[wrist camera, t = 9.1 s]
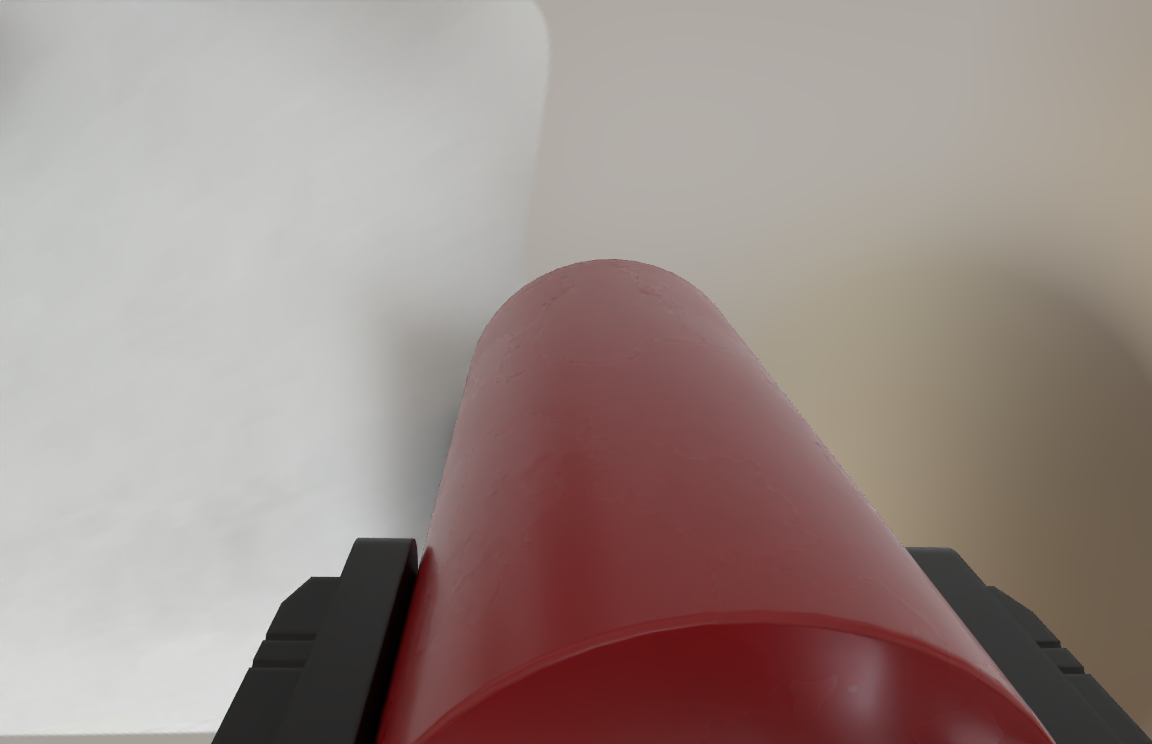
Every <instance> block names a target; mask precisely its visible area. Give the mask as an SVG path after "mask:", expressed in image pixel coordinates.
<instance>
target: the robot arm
mask: <svg viewBox="0 0 1152 744" xmlns="http://www.w3.org/2000/svg"><path fill="white" fill-rule="evenodd" d="M905 549H906V550H907V551H908V552H909V554H910V555H911V556H912V558H913V559H914V560H915V561H916V563H917V564H918V565H919V566H920V568H921V569H922V570H923V572H924V573H925V574H926V575H927V577H928V578H929V579H930V581H931V582H932V583H933V584H934V586H935V587H936V588H937V590H938V591H939V592H940V593H941V595H942V596H943V597H944V598H945V600H946V601H947V602H948V604H949V605H950V606H951V607H952V609H953V610H954V611H955V613H956V614H957V615H958V616H959V618H960V619H961V620H962V622H963V623H964V624H965V625H966V627H967V628H968V629H969V631H970V632H971V633H972V634H973V636H974V637H975V638H976V639H977V641H978V642H979V643H980V645H981V646H982V647H983V648H984V650H985V651H986V652H987V654H988V655H989V656H990V657H991V659H992V660H993V661H994V663H995V664H996V665H997V666H998V668H999V669H1000V670H1001V671H1002V673H1003V674H1004V675H1005V677H1006V678H1007V679H1008V680H1009V682H1010V683H1011V684H1012V686H1013V687H1014V688H1015V689H1016V691H1017V692H1018V693H1019V695H1020V696H1021V697H1022V698H1023V700H1024V701H1025V702H1026V703H1027V705H1028V706H1029V707H1030V709H1031V710H1032V711H1033V712H1034V714H1035V715H1036V716H1037V718H1038V719H1039V720H1040V722H1041V723H1042V724H1043V726H1044V727H1045V728H1046V730H1047V731H1048V732H1049V734H1050V735H1051V736H1052V738H1053V739H1054V740H1055V741H1056V743H1057V744H1152V741H1151V739H1150V738H1149V737H1148V736H1147V735H1146V734H1145V733H1144V732H1143V731H1142V730H1141V729H1140V728H1139V726H1138V725H1137V724H1136V723H1135V722H1134V721H1133V720H1132V719H1131V718H1130V717H1129V716H1128V715H1127V714H1126V712H1125V711H1124V710H1123V709H1122V708H1121V707H1120V706H1119V705H1118V704H1117V703H1116V702H1115V701H1114V699H1113V698H1112V697H1111V696H1110V695H1109V694H1108V693H1107V692H1106V691H1105V690H1104V689H1103V688H1102V687H1101V685H1100V684H1099V683H1098V682H1097V681H1096V680H1095V679H1094V678H1093V677H1092V676H1091V675H1090V674H1085V673H1084V667H1083V666H1082V665H1081V664H1080V663H1079V662H1078V661H1077V659H1076V658H1075V657H1074V656H1073V655H1072V654H1071V653H1070V652H1069V651H1068V650H1067V649H1066V648H1061V645H1060V641H1059V640H1058V639H1057V638H1056V637H1055V636H1054V635H1053V633H1052V632H1051V631H1050V630H1049V629H1048V628H1047V627H1046V626H1045V625H1044V624H1043V623H1042V622H1041V620H1039V618H1038V617H1037V616H1036V615H1035V614H1034V613H1033V612H1032V611H1030V610H1029V609H1027V608H1026V607H1024V606H1023V605H1021V604H1020V603H1018V602H1017V601H1015V600H1014V599H1012V598H1011V597H1009V596H1008V595H1006V594H1005V593H1003V592H1002V591H1000V590H998V589H997V588H996V587H994V586H986V585H985V584H984V583H983V582H982V580H981V579H980V578H979V577H978V576H977V575H976V574H975V573H974V571H973V570H972V569H971V568H970V567H969V566H968V565H967V564H966V562H965V561H964V560H963V559H962V558H961V557H960V555H959V554H958V553H957V552H956V551H954V550H952V549H950V548H936V547H935V548H934V547H905ZM417 573H418V554H417V544H416V540H415V539H408V538H357V539H356V540H355V542H354V544H353V547H352V549H351V552H350V554H349V557H348V559H347V561H346V564H345V566H344V569H343V571H342V574H341V576H340V577H311V578H310V579H309V580H307V581H306V582H305V583H304V584H303V585H302V586H301V587H299V588H298V589H297V590H296V591H295V592H294V593H293V594H291V595H290V596H289V597H288V598H287V599H286V600H284V601H283V602H282V603H281V605H280V607H279V609H278V611H277V613H276V615H275V617H274V619H273V621H272V623H271V625H270V627H269V629H268V631H267V633H266V640H263V641H262V643H261V645H260V647H259V649H258V651H257V653H256V655H255V657H254V659H253V666H252V668H249V669H248V671H247V673H246V675H245V677H244V679H243V681H242V683H241V685H240V687H239V689H238V691H237V693H236V695H235V697H234V699H233V701H232V703H231V705H230V707H229V709H228V711H227V713H226V715H225V717H224V719H223V721H222V723H221V725H220V727H219V729H218V731H217V733H216V735H215V737H214V739H213V741H212V743H211V744H374V742H375V738H376V734H377V730H378V726H379V722H380V718H381V714H382V710H383V707H384V703H385V699H386V695H387V691H388V687H389V683H390V679H391V675H392V671H393V667H394V663H395V659H396V655H397V651H398V648H399V644H400V640H401V636H402V632H403V628H404V624H405V620H406V616H407V612H408V608H409V604H410V600H411V596H412V593H413V589H414V585H415V581H416V577H417Z"/></svg>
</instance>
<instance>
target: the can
mask: <svg viewBox="0 0 1152 744" xmlns="http://www.w3.org/2000/svg"><path fill="white" fill-rule="evenodd" d="M374 744H1057V743H1056V741H1055V740H1054V739H1053V738H1052V736H1051V735H1050V734H1049V732H1048V731H1047V730H1046V728H1045V727H1044V726H1043V724H1042V723H1041V722H1040V720H1039V719H1038V718H1037V716H1036V715H1035V714H1034V712H1033V711H1032V710H1031V709H1030V707H1029V706H1028V705H1027V703H1026V702H1025V701H1024V700H1023V698H1022V697H1021V696H1020V695H1019V693H1018V692H1017V691H1016V689H1015V688H1014V687H1013V686H1012V684H1011V683H1010V682H1009V680H1008V679H1007V678H1006V677H1005V675H1004V674H1003V673H1002V671H1001V670H1000V669H999V668H998V666H997V665H996V664H995V663H994V661H993V660H992V659H991V657H990V656H989V655H988V654H987V652H986V651H985V650H984V648H983V647H982V646H981V645H980V643H979V642H978V641H977V639H976V638H975V637H974V636H973V634H972V633H971V632H970V631H969V629H968V628H967V627H966V625H965V624H964V623H963V622H962V620H961V619H960V618H959V616H958V615H957V614H956V613H955V611H954V610H953V609H952V607H951V606H950V605H949V604H948V602H947V601H946V600H945V598H944V597H943V596H942V595H941V593H940V592H939V591H938V590H937V588H936V587H935V586H934V584H933V583H932V582H931V581H930V579H929V578H928V577H927V575H926V574H925V573H924V572H923V570H922V569H921V568H920V566H919V565H918V564H917V563H916V561H915V560H914V559H913V558H912V556H911V555H910V554H909V552H908V551H907V550H906V549H905V547H904V546H903V545H902V543H901V542H900V541H899V540H898V539H897V537H896V536H895V535H894V533H893V532H892V531H891V529H890V528H889V527H888V526H887V525H886V523H885V522H884V521H883V519H882V518H881V517H880V515H879V514H878V513H877V512H876V510H875V509H874V508H873V506H871V504H870V503H869V501H868V500H867V499H866V497H865V496H864V495H863V494H862V492H861V491H860V490H859V488H858V487H857V486H856V485H855V483H854V482H853V481H852V479H851V478H850V477H849V476H848V475H847V473H846V472H845V470H844V469H843V468H842V467H841V465H840V464H839V463H838V462H837V460H836V459H835V458H834V456H833V455H832V454H831V453H830V451H829V450H828V449H827V447H826V446H825V445H824V444H823V442H822V441H821V440H820V438H819V437H818V436H817V435H816V433H815V432H814V431H813V430H812V428H811V427H810V426H809V424H808V423H807V422H806V421H805V419H804V418H803V417H802V415H801V414H800V413H799V412H798V410H797V409H796V408H795V407H794V405H793V404H792V403H791V401H790V400H789V399H788V398H787V396H786V395H785V394H784V392H783V391H782V390H781V389H780V387H779V386H778V385H777V383H776V382H775V381H774V380H773V378H772V377H771V376H770V374H769V373H768V372H767V371H766V370H765V368H764V367H763V366H762V365H761V363H760V362H759V360H758V359H757V358H756V357H755V355H754V354H753V353H752V351H751V350H750V349H749V348H748V346H747V345H746V344H745V343H744V341H743V340H742V339H741V338H740V336H739V335H738V333H737V332H736V331H735V330H734V328H733V327H732V326H731V325H730V323H729V322H728V321H727V319H726V318H725V317H724V316H723V314H722V313H721V312H720V311H719V309H718V308H717V307H716V305H715V304H714V303H713V302H712V301H711V300H710V299H709V298H708V297H707V296H706V295H705V294H703V293H702V292H701V291H700V290H699V289H697V288H696V287H695V286H693V285H692V284H691V283H689V282H688V281H686V280H684V279H683V278H681V277H679V276H677V275H675V274H673V273H672V272H669V271H666V270H664V269H661V268H659V267H656V266H653V265H649V264H645V263H640V262H636V261H628V260H617V259H608V260H592V261H586V262H580V263H575V264H572V265H569V266H565V267H562V268H558V269H556V270H554V271H552V272H550V273H547V274H545V275H543V276H541V277H539V278H537V279H536V280H534V281H532V282H531V283H529V284H527V285H526V286H524V287H523V288H522V289H520V290H519V291H518V292H517V293H516V294H514V295H513V296H512V297H511V298H509V299H508V301H507V302H506V303H505V304H504V305H503V306H502V307H501V308H500V309H499V310H498V311H497V312H496V314H495V315H494V316H493V318H492V319H491V321H490V322H489V323H488V325H487V326H486V328H485V330H484V332H483V334H482V336H481V337H480V339H479V341H478V343H477V346H476V349H475V352H474V354H473V357H472V360H471V364H470V368H469V372H468V376H467V380H466V384H465V388H464V392H463V396H462V400H461V404H460V408H459V412H458V416H457V419H456V423H455V427H454V431H453V435H452V439H451V443H450V447H449V451H448V455H447V459H446V463H445V467H444V471H443V475H442V478H441V482H440V486H439V490H438V494H437V498H436V502H435V506H434V510H433V514H432V518H431V522H430V526H429V530H428V534H427V537H426V541H425V545H424V549H423V553H422V557H421V561H420V565H419V569H418V573H417V577H416V581H415V585H414V589H413V593H412V596H411V600H410V604H409V608H408V612H407V616H406V620H405V624H404V628H403V632H402V636H401V640H400V644H399V648H398V651H397V655H396V659H395V663H394V667H393V671H392V675H391V679H390V683H389V687H388V691H387V695H386V699H385V703H384V707H383V710H382V714H381V718H380V722H379V726H378V730H377V734H376V738H375V742H374Z"/></svg>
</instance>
